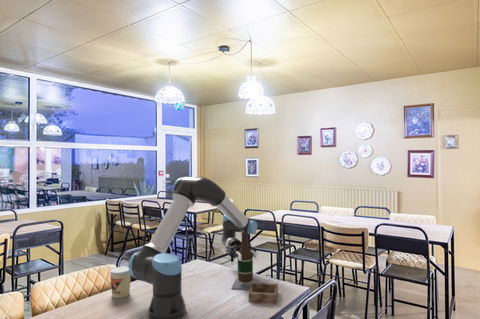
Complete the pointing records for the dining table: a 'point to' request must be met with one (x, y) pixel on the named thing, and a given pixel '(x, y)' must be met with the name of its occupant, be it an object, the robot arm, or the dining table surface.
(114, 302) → the dining table surface
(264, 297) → the caddy
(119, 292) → the coffee cup
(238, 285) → the coaster
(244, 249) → the beer bottle
